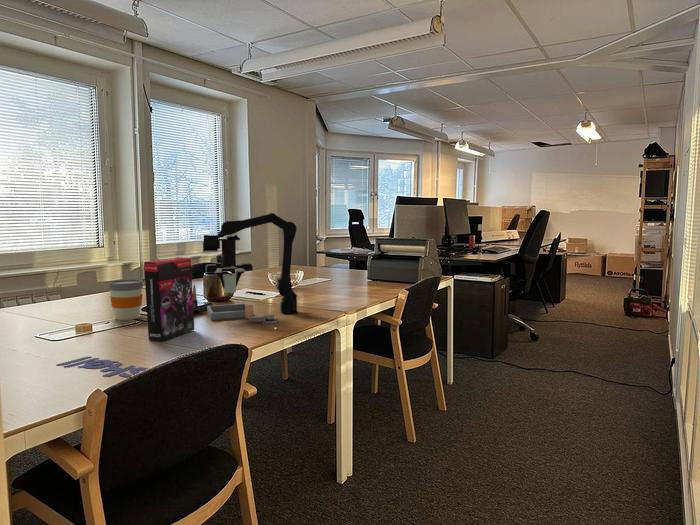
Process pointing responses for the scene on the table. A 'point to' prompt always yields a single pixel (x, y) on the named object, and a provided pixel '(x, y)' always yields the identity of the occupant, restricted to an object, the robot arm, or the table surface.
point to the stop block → (229, 284)
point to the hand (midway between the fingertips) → (229, 287)
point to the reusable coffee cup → (126, 298)
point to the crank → (250, 315)
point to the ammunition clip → (194, 297)
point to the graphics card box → (169, 298)
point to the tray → (226, 311)
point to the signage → (103, 366)
